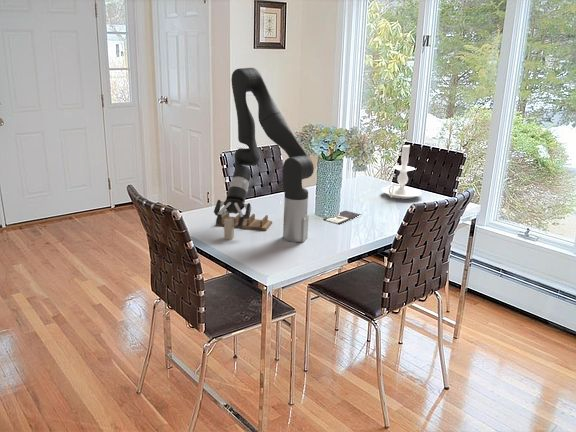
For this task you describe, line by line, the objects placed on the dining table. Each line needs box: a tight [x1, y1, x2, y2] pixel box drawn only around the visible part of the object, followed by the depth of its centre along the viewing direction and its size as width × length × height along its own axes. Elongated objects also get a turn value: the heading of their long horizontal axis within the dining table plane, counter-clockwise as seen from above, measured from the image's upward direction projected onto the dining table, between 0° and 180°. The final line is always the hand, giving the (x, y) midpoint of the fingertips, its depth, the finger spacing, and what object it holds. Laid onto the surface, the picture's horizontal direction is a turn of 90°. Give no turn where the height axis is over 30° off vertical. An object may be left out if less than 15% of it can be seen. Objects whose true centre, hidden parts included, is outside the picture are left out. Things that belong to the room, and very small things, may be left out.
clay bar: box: [223, 218, 235, 241], centre depth 207 cm, size 3×3×8 cm
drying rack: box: [215, 212, 273, 232], centre depth 224 cm, size 22×10×4 cm, turn 77°
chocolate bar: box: [322, 210, 362, 225], centre depth 239 cm, size 9×1×18 cm
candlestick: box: [381, 144, 422, 200], centre depth 272 cm, size 21×25×28 cm
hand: (228, 225), depth 206 cm, fingers open, 8 cm apart
